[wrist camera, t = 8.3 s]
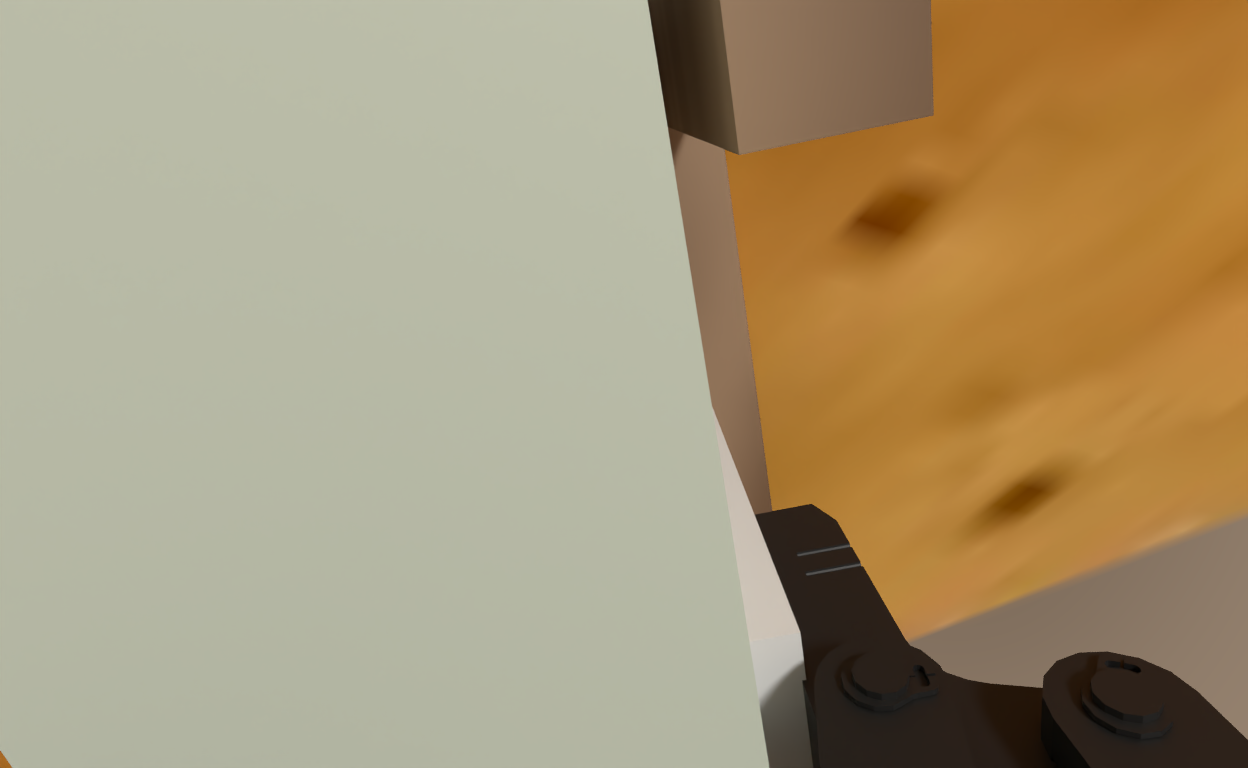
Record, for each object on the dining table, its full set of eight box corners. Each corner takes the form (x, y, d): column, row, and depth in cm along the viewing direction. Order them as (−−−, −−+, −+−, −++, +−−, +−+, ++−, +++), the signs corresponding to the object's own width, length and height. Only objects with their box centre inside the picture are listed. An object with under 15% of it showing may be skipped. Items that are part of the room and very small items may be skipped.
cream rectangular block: (570, 823, 19) (550, 1519, 10) (272, -114, 11) (-1417, -1232, 2) (737, 793, 19) (881, 1473, 10) (558, -176, 11) (366, -1754, 2)
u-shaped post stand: (483, 624, 24) (362, 1228, 11) (291, 51, 18) (-548, -75, 5) (773, 570, 24) (991, 1127, 11) (691, -34, 17) (1002, -423, 4)
